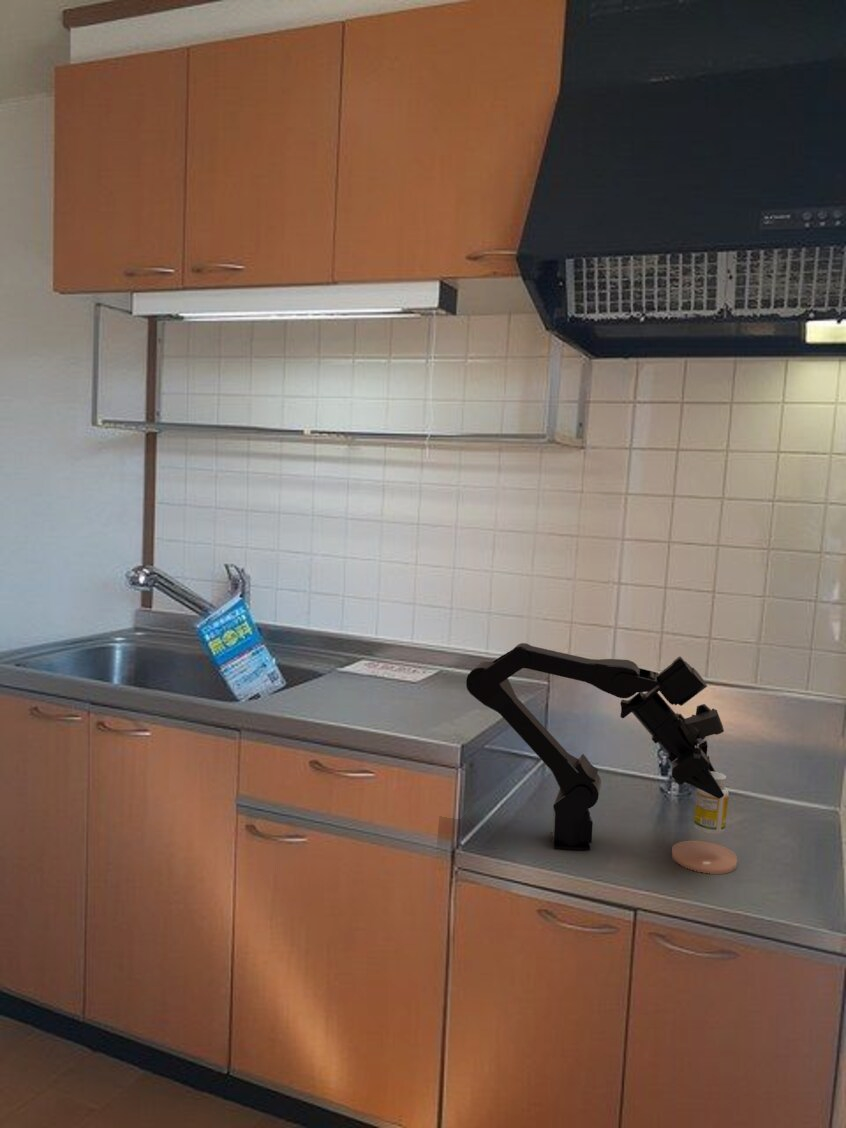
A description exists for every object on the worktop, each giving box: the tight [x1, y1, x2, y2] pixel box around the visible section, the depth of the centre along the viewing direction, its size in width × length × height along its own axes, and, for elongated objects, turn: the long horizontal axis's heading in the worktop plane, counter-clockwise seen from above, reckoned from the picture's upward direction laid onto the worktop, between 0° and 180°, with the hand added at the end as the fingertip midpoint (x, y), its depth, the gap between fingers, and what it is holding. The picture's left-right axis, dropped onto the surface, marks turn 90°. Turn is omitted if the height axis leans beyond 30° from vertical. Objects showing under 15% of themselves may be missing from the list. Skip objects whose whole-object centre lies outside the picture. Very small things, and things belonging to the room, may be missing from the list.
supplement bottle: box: [693, 771, 730, 834], centre depth 153 cm, size 5×5×10 cm
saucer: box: [671, 840, 738, 875], centre depth 155 cm, size 11×11×1 cm
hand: (720, 791), depth 153 cm, fingers closed on supplement bottle, 5 cm apart
